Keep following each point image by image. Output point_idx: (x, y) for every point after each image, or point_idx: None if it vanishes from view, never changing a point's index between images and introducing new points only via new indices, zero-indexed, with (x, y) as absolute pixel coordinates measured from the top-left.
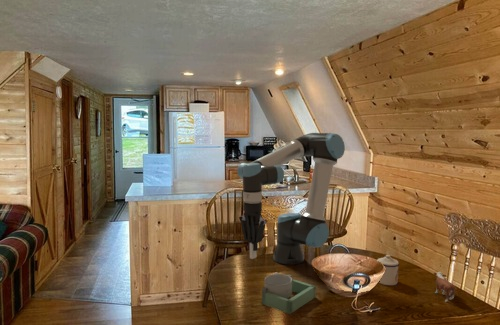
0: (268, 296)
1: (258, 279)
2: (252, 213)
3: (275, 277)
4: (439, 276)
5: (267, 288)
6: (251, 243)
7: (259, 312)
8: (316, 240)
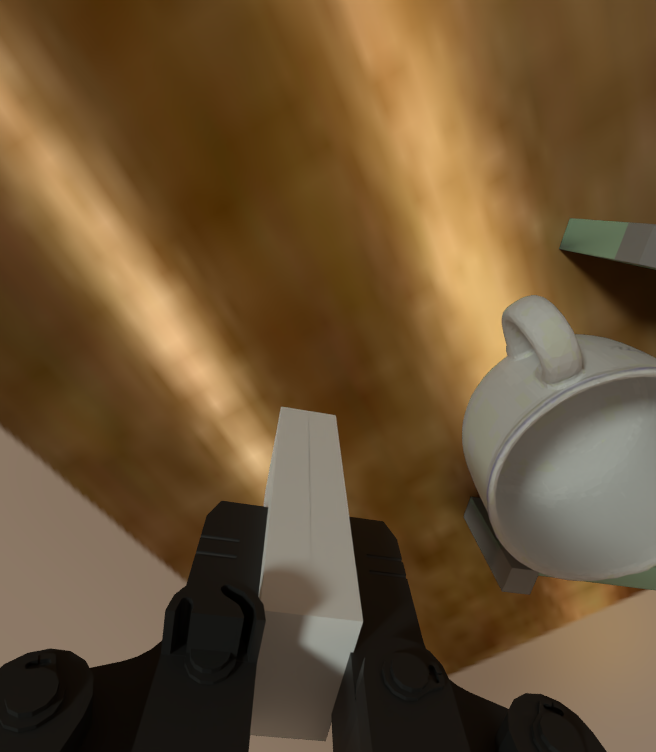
0: None
1: (264, 164)
2: None
3: (552, 390)
4: None
5: (538, 572)
6: (297, 735)
7: (485, 594)
8: None
